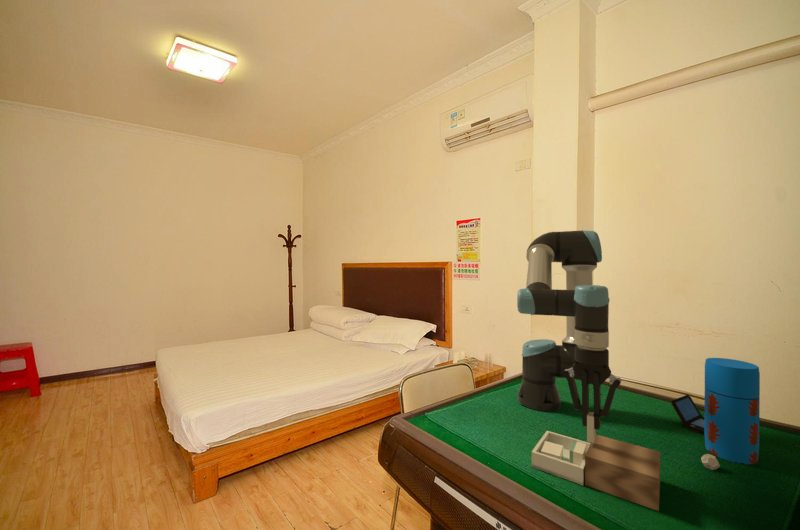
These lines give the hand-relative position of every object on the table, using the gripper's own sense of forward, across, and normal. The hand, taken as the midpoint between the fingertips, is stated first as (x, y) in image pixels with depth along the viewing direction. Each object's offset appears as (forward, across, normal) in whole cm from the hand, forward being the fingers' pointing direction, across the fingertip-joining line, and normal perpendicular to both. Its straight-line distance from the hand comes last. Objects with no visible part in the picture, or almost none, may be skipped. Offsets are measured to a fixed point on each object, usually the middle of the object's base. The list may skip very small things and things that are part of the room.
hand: (591, 439), depth 86 cm
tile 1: (+4, -9, -2) cm, 10 cm away
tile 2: (+5, -2, 0) cm, 5 cm away
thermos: (+8, +29, +33) cm, 45 cm away
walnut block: (+8, +7, 0) cm, 11 cm away
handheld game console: (+9, +23, +49) cm, 55 cm away
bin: (+8, -7, 0) cm, 10 cm away
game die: (+9, +24, +21) cm, 33 cm away
